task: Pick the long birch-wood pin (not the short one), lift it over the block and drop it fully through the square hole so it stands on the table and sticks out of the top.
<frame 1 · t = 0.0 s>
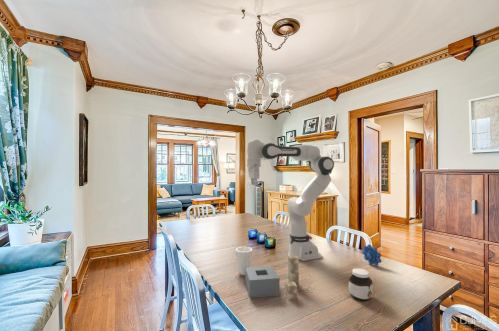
hand: (253, 185, 156), 48 cm above the table, fingers open, 8 cm apart
long pin: (293, 284, 120), on the table
grapes: (370, 265, 144), on the table
foam cup: (244, 272, 134), on the table
spread jar: (359, 295, 110), on the table
hole block: (261, 289, 115), on the table
short pin: (291, 297, 108), on the table
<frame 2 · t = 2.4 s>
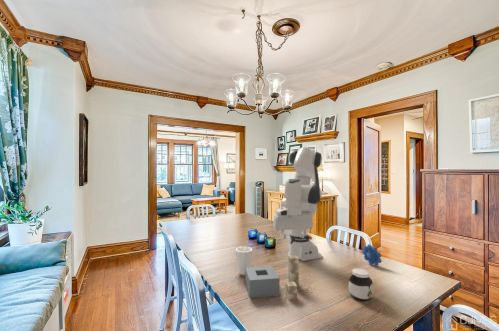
hand: (293, 238, 120), 23 cm above the table, fingers open, 8 cm apart
nothing on the table moved.
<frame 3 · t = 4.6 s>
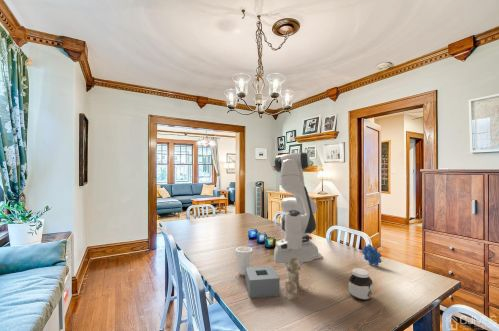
hand: (293, 270, 120), 7 cm above the table, fingers closed on long pin, 4 cm apart
long pin: (293, 284, 120), on the table, touching gripper
everything else where it was.
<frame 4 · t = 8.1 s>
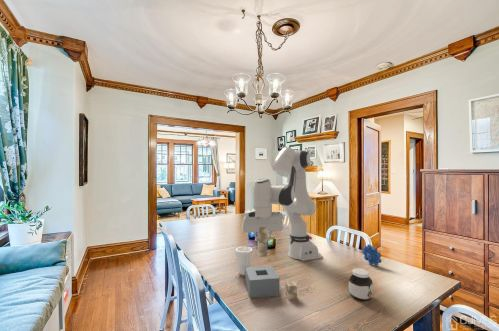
hand: (262, 240, 116), 24 cm above the table, fingers closed on long pin, 4 cm apart
long pin: (262, 255, 115), point 17 cm above the table, touching gripper
everything else where it was.
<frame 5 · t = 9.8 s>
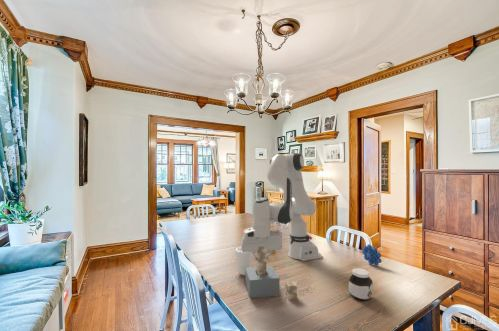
hand: (261, 259, 116), 14 cm above the table, fingers closed on long pin, 4 cm apart
long pin: (261, 274, 115), point 7 cm above the table, touching gripper
everything else where it was.
when the fingers open (9 cm above the table, at t = 11.4 s): long pin drops 2 cm, resting in hole block.
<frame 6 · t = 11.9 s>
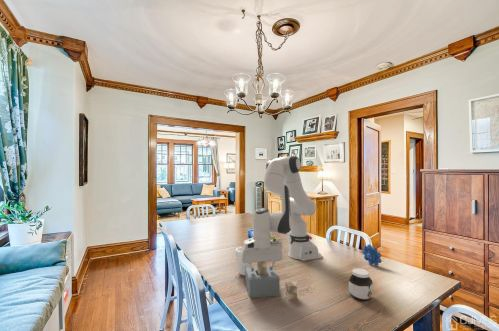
hand: (261, 270, 116), 9 cm above the table, fingers open, 8 cm apart
long pin: (261, 289, 115), resting in hole block
everything else where it was.
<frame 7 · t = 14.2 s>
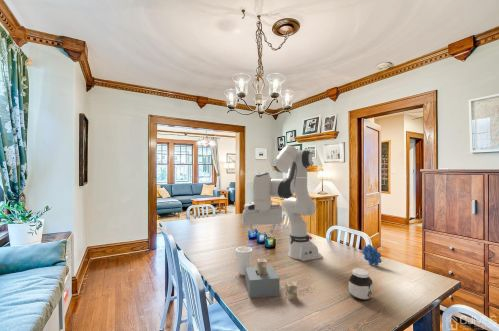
hand: (262, 233, 117), 27 cm above the table, fingers open, 8 cm apart
nothing on the table moved.
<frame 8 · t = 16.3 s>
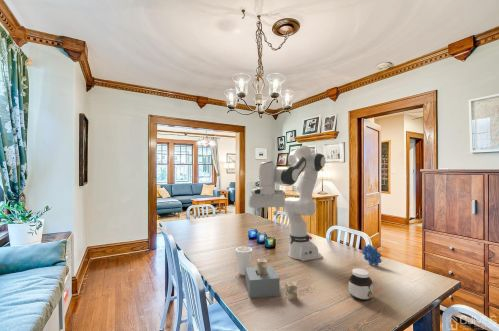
hand: (266, 215, 131), 33 cm above the table, fingers open, 8 cm apart
nothing on the table moved.
at the end: long pin 0.1 cm off-centre on the hole block, point 0.0 cm above the hole block's base; long pin tilted 0°; short pin moved 0.1 cm from its start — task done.
